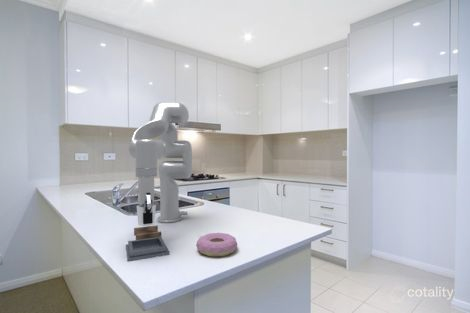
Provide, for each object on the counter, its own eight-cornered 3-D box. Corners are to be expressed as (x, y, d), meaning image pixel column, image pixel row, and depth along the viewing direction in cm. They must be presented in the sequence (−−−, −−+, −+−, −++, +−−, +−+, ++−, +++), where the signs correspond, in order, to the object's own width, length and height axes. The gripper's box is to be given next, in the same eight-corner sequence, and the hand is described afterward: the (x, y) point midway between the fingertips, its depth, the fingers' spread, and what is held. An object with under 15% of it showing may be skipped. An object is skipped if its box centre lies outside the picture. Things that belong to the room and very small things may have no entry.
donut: (221, 240, 109) (221, 228, 109) (245, 251, 97) (245, 238, 97) (188, 249, 99) (188, 236, 99) (211, 263, 88) (211, 248, 87)
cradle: (162, 241, 107) (162, 235, 107) (169, 254, 94) (169, 247, 94) (125, 247, 101) (125, 240, 101) (127, 261, 88) (127, 254, 88)
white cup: (146, 227, 92) (146, 207, 92) (132, 224, 95) (132, 205, 95) (160, 222, 98) (160, 204, 98) (146, 220, 102) (146, 202, 101)
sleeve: (157, 231, 120) (157, 225, 120) (161, 239, 110) (161, 232, 110) (134, 234, 116) (134, 227, 116) (136, 242, 106) (136, 235, 106)
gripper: (134, 171, 103) (134, 216, 103) (137, 175, 87) (137, 228, 88) (153, 170, 106) (153, 215, 106) (160, 174, 90) (160, 226, 91)
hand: (146, 220), depth 97 cm, fingers closed on white cup, 6 cm apart
